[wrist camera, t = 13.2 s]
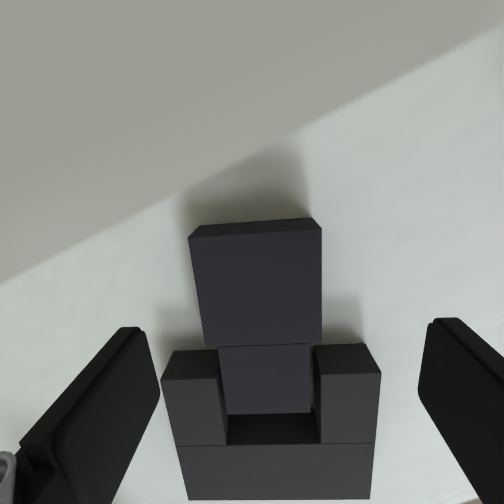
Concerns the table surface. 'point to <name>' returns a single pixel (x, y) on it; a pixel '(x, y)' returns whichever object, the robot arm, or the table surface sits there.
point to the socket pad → (276, 431)
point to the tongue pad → (261, 309)
